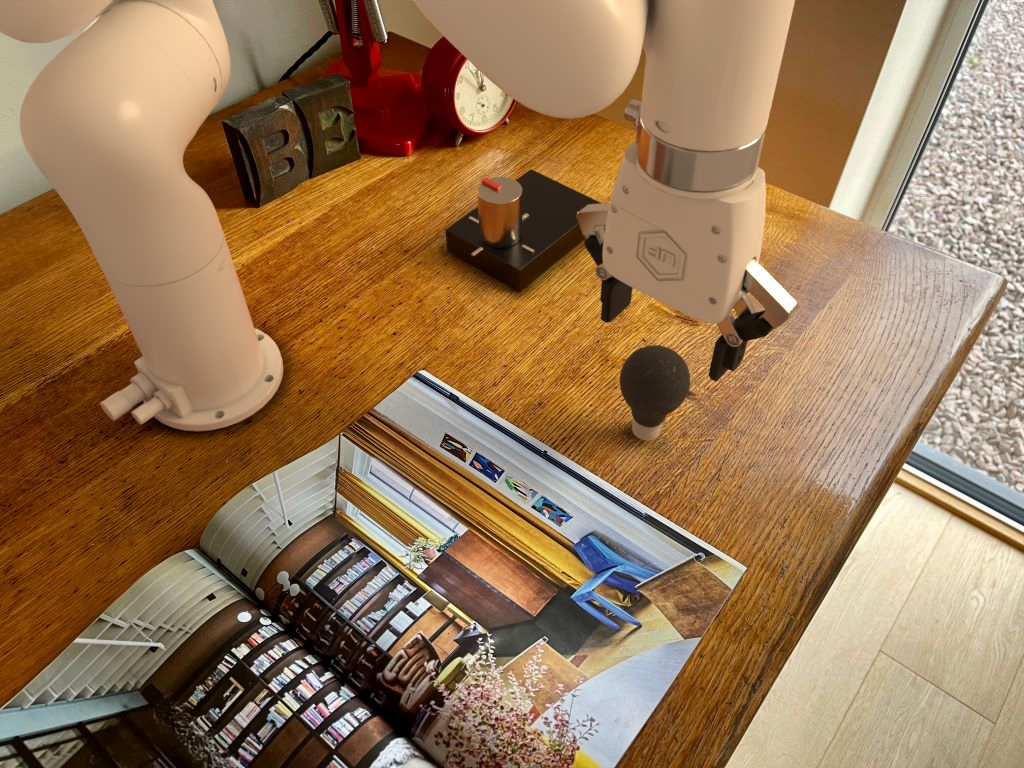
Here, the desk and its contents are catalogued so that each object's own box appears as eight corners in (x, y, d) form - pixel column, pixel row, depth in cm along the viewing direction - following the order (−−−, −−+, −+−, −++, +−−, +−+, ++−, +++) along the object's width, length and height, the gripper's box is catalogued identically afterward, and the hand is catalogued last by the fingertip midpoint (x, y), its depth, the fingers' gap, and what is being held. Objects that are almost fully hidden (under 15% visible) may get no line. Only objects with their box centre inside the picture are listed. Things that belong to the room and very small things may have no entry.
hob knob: (530, 233, 88) (531, 185, 84) (502, 254, 86) (501, 206, 82) (498, 215, 90) (497, 168, 86) (470, 235, 88) (467, 188, 84)
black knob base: (511, 299, 86) (510, 275, 84) (438, 258, 90) (436, 234, 88) (601, 226, 94) (603, 202, 91) (530, 191, 98) (530, 167, 96)
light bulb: (688, 427, 75) (707, 347, 68) (660, 471, 72) (676, 393, 65) (630, 401, 77) (642, 321, 70) (600, 443, 74) (610, 363, 67)
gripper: (550, 123, 55) (548, 317, 68) (797, 228, 47) (742, 425, 60) (619, 76, 59) (604, 268, 71) (858, 166, 51) (794, 364, 64)
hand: (667, 339), depth 66 cm, fingers open, 9 cm apart
